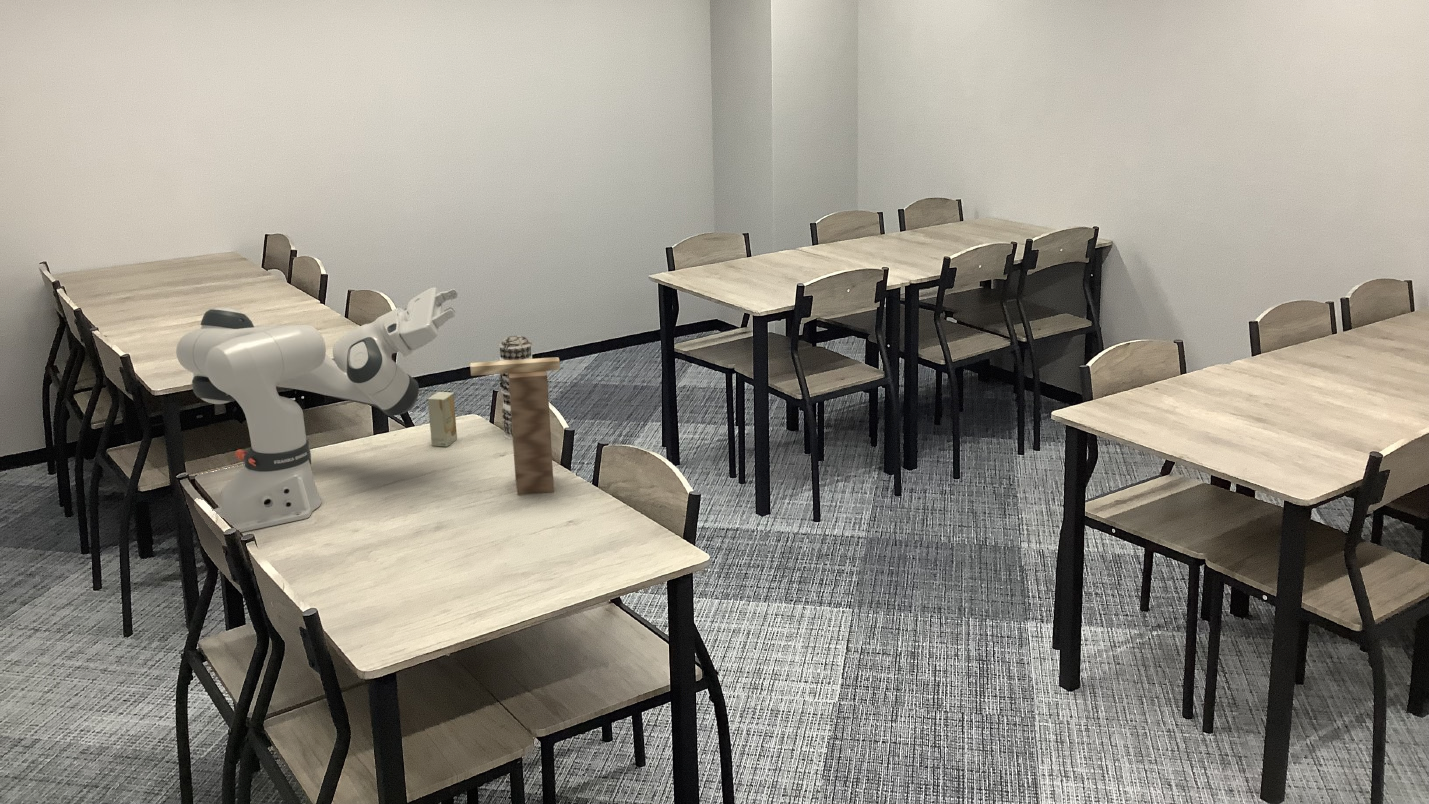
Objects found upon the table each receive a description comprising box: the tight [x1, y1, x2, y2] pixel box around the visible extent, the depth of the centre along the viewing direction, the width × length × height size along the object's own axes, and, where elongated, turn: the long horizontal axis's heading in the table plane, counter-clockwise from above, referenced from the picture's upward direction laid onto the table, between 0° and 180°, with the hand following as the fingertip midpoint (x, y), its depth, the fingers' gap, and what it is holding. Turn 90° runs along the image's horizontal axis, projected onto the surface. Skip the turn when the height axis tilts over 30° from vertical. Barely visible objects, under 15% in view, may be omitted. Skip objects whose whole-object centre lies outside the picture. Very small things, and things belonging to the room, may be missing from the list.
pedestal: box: [508, 371, 555, 496], centre depth 265 cm, size 8×10×27 cm
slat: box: [469, 356, 561, 377], centre depth 260 cm, size 19×3×2 cm, turn 101°
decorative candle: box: [498, 335, 533, 441], centre depth 297 cm, size 9×9×25 cm
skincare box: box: [427, 391, 458, 448], centre depth 294 cm, size 6×4×12 cm
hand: (454, 301), depth 267 cm, fingers open, 8 cm apart
